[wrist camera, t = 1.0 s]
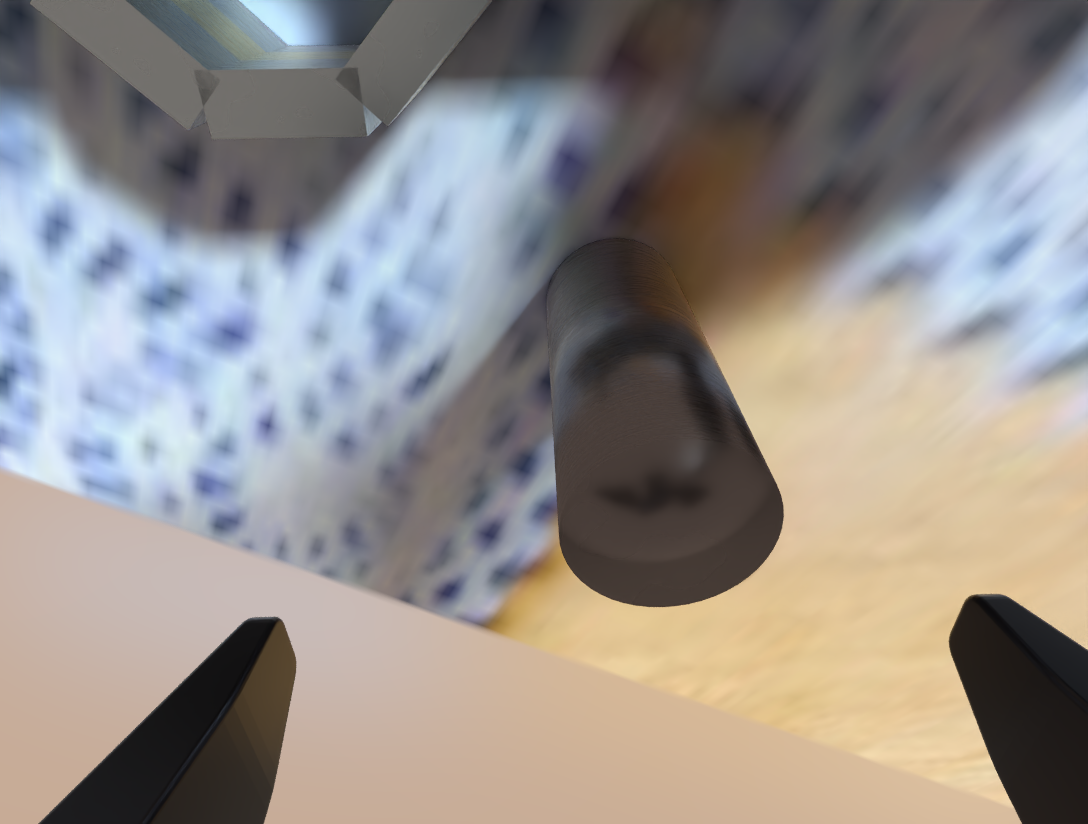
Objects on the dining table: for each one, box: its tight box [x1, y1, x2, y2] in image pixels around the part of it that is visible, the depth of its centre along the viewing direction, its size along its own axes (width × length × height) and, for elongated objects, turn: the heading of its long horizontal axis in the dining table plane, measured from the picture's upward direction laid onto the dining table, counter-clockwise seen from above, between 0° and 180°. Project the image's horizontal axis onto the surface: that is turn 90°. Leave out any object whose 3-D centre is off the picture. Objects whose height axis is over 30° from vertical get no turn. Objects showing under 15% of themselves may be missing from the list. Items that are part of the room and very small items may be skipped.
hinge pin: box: [546, 238, 784, 607], centre depth 16 cm, size 4×4×10 cm
